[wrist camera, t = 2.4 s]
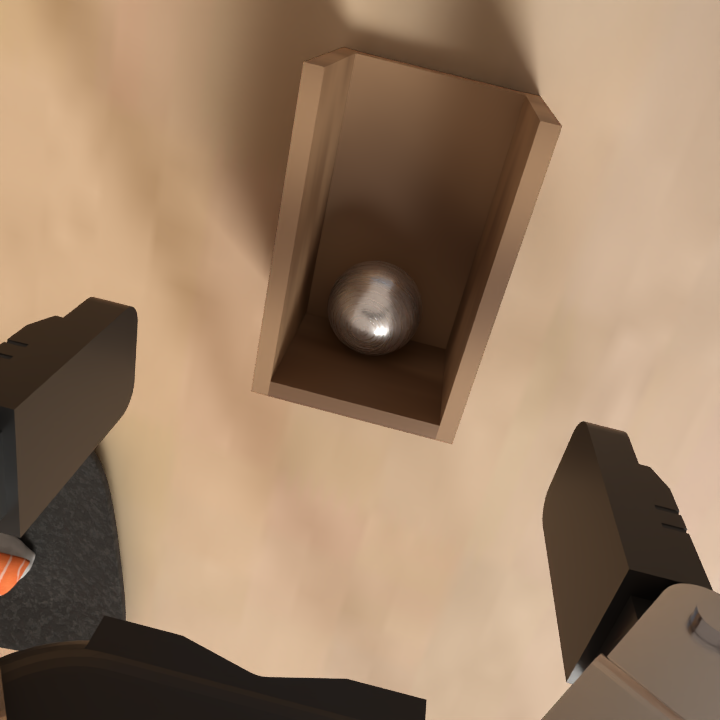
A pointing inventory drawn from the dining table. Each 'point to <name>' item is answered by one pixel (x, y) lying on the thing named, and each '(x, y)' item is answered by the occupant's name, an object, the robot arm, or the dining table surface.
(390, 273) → the ball
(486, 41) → the dining table surface
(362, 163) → the channel
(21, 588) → the sushi plate
